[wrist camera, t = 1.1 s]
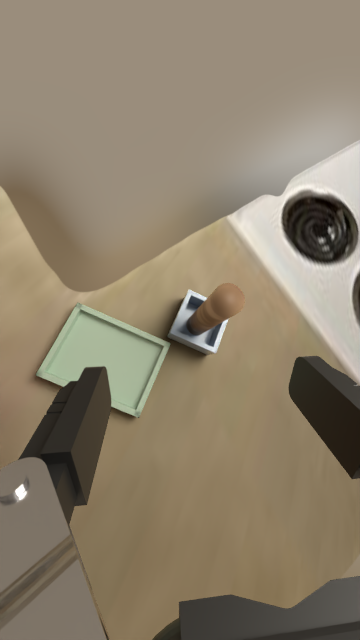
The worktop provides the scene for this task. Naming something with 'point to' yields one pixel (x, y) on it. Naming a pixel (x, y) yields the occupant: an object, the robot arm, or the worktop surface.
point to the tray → (106, 356)
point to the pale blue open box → (180, 333)
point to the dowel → (216, 308)
